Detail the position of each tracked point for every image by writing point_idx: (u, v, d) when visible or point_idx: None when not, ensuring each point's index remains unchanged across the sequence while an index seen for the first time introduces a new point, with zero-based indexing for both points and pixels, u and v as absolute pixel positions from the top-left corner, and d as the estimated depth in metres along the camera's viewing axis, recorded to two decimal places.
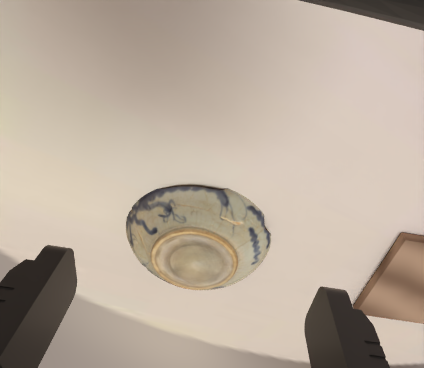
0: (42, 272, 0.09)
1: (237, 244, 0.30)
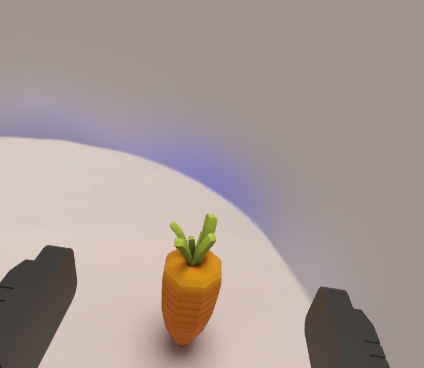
0: (42, 272, 0.09)
1: None
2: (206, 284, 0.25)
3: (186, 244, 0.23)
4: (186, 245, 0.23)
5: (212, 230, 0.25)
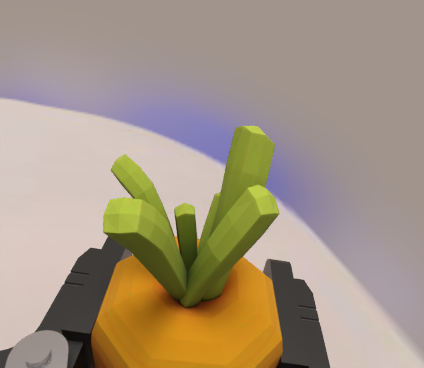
0: (111, 259, 0.10)
1: None
2: None
3: (161, 227, 0.06)
4: (161, 231, 0.06)
5: (257, 184, 0.07)
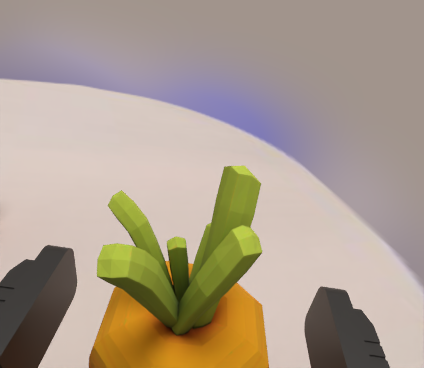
0: (42, 272, 0.09)
1: None
2: None
3: (151, 268, 0.06)
4: (151, 272, 0.06)
5: (244, 221, 0.07)
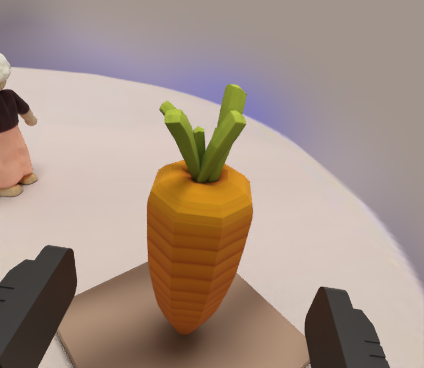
0: (42, 272, 0.09)
1: None
2: (226, 211, 0.13)
3: (189, 126, 0.12)
4: (189, 127, 0.12)
5: None
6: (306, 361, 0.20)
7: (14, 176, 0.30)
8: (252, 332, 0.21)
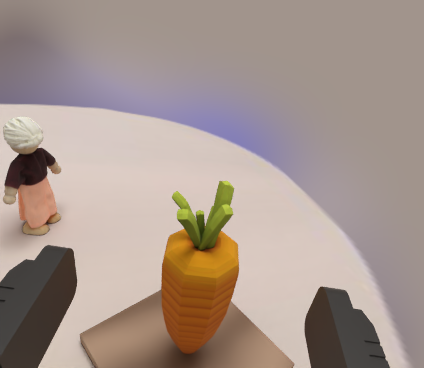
0: (42, 272, 0.09)
1: None
2: (219, 273, 0.19)
3: (193, 218, 0.17)
4: (193, 219, 0.17)
5: (227, 203, 0.19)
6: None
7: (43, 218, 0.36)
8: (242, 350, 0.26)
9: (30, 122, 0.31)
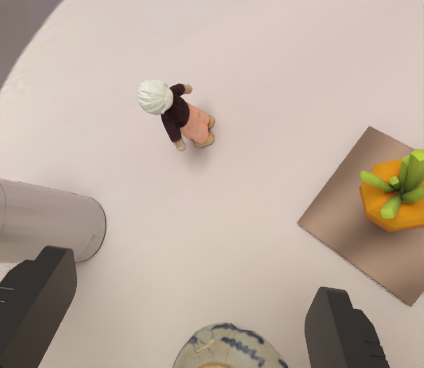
0: (42, 272, 0.09)
1: (223, 358, 0.33)
2: None
3: (396, 207, 0.18)
4: (397, 208, 0.18)
5: None
6: None
7: (205, 133, 0.40)
8: None
9: (153, 86, 0.31)
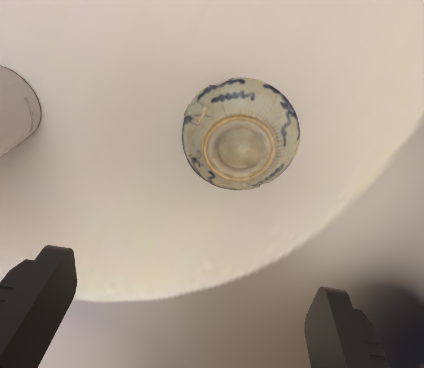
0: (42, 272, 0.09)
1: (222, 114, 0.36)
2: None
3: None
4: None
5: None
6: None
7: None
8: None
9: None
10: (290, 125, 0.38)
